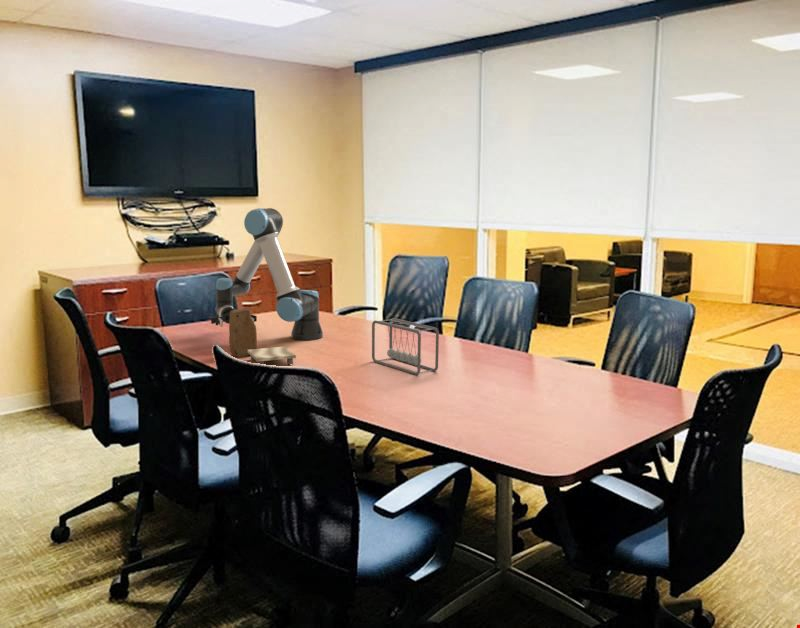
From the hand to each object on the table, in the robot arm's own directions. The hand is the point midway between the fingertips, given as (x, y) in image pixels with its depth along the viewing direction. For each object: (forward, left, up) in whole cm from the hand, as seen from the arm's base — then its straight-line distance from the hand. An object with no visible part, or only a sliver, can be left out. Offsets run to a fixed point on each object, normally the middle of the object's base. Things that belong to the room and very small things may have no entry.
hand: (237, 322), depth 302 cm
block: (0, +10, -13) cm, 16 cm away
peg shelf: (-8, +27, -12) cm, 31 cm away
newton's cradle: (-56, +54, -13) cm, 79 cm away
